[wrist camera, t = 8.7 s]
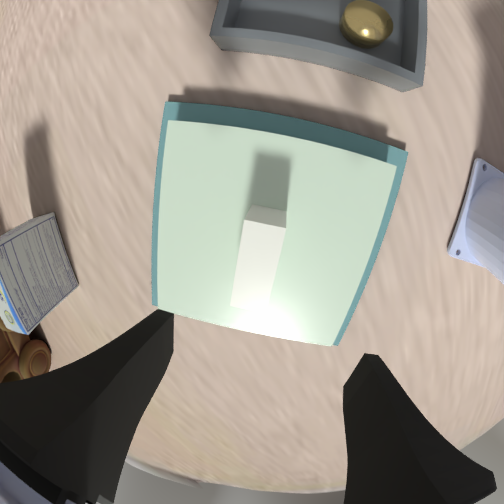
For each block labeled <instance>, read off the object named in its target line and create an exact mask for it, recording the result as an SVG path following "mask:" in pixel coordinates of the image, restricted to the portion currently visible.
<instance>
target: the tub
mask: <svg viewBox="0 0 504 504" xmlns="http://www.w3.org/2000/svg"><path fill="white" fill-rule="evenodd" d="M353 1H355V0H219V2H218V5H217V9H216V12H215V16H214V20H213V23H212V27H211V31H210V35H209V36H210V37H211V38H212V39H213V40H214V42H215V43H216V44H217V45H218V46H219V48H220V49H221V50H225V51H238V52H248V53H257V54H264V55H271V56H278V57H284V58H289V59H295V60H300V61H304V62H309V63H313V64H318V65H322V66H326V67H330V68H333V69H337V70H341V71H344V72H348V73H351V74H354V75H357V76H360V77H363V78H366V79H369V80H372V81H375V82H378V83H381V84H383V85H386V86H388V87H391V88H394V89H396V90H398V91H401V92H406V91H409V90H412V89H415V88H418V87H422V86H423V80H424V70H425V59H426V44H427V0H367V1H371V2H373V3H376V4H378V5H379V6H381V7H382V8H383V9H384V10H386V11H387V13H388V14H389V15H390V17H391V19H392V21H393V32H392V33H391V35H390V36H389V37H388V38H387V39H385V40H384V41H383V42H382V43H381V44H380V45H379V46H377V47H375V48H372V49H364V48H360V47H357V46H355V45H353V44H351V43H350V42H348V41H347V40H346V39H345V38H344V36H343V35H342V33H341V31H340V28H339V22H340V19H341V17H342V15H343V13H344V11H345V8H346V7H347V5H348V4H349V3H351V2H353Z"/></svg>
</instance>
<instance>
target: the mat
mask: <svg viewBox="0 0 504 504" xmlns="http://www.w3.org/2000/svg"><path fill="white" fill-rule="evenodd" d="M168 120H173V121H186V122H198V123H207V124H216V125H224V126H232V127H239V128H246V129H252V130H258V131H264V132H269V133H275V134H280V135H285V136H290V137H295V138H299V139H304V140H308V141H312V142H317V143H321V144H325V145H329V146H332V147H336V148H340V149H344V150H347V151H351V152H354V153H358V154H361V155H364V156H367V157H371V158H374V159H377V160H380V161H383V162H386V163H389V164H392V165H395V166H397V168H396V172H395V176H394V180H393V184H392V187H391V191H390V195H389V198H388V202H387V205H386V208H385V212H384V215H383V218H382V222H381V225H380V228H379V231H378V234H377V237H376V240H375V243H374V246H373V249H372V252H371V254H370V257H369V260H368V263H367V265H366V268H365V271H364V273H363V276H362V278H361V281H360V284H359V286H358V289H357V291H356V294H355V296H354V298H353V301H352V303H351V306H350V308H349V310H348V313H347V315H346V317H345V319H344V322H343V324H342V326H341V328H340V330H339V333H338V335H337V337H336V339H335V341H334V343H333V345H336V346H338V344H339V342H340V340H341V338H342V336H343V334H344V332H345V330H346V328H347V326H348V324H349V322H350V320H351V317H352V315H353V313H354V311H355V309H356V306H357V304H358V302H359V299H360V297H361V295H362V293H363V290H364V288H365V285H366V283H367V281H368V278H369V276H370V273H371V271H372V268H373V265H374V263H375V260H376V258H377V255H378V252H379V249H380V247H381V244H382V241H383V238H384V235H385V232H386V229H387V226H388V223H389V220H390V217H391V214H392V211H393V208H394V204H395V201H396V198H397V194H398V191H399V187H400V183H401V180H402V176H403V172H404V168H405V164H406V160H407V156H408V152H406V151H404V150H401V149H399V148H396V147H393V146H391V145H388V144H385V143H382V142H379V141H376V140H374V139H371V138H368V137H364V136H361V135H358V134H355V133H352V132H348V131H345V130H341V129H338V128H334V127H330V126H327V125H323V124H319V123H315V122H311V121H307V120H302V119H298V118H293V117H288V116H283V115H278V114H273V113H268V112H262V111H256V110H249V109H243V108H235V107H228V106H219V105H209V104H198V103H184V102H165V107H164V113H163V119H162V126H161V133H160V141H159V149H158V158H157V167H156V178H155V190H154V205H153V225H152V305H154V306H158V292H157V252H158V221H159V203H160V189H161V177H162V166H163V156H164V148H165V139H166V132H167V124H168Z"/></svg>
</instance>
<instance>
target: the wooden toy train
mask: <svg viewBox="0 0 504 504" xmlns="http://www.w3.org/2000/svg"><path fill="white" fill-rule="evenodd" d="M50 366H51V353H50V350H49V348H48V346H47V345H46V343H45V342H43V341H42V340H37V339H34V340H30V338H29V336H28V335H26V334H22V333H18V332H15V331H12V330H10V329H8V328H6V326H5V324H4V322H3V320H2V319H1V317H0V383H5V382H12V381H18V380H22V379H26V378H31V377H34V376H38V375H41V374H44V373H47V372H49V369H50Z"/></svg>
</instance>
